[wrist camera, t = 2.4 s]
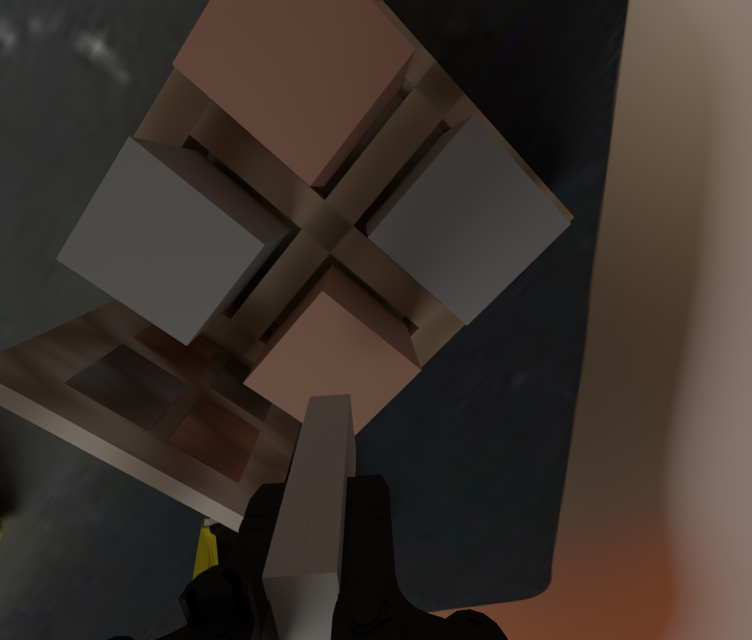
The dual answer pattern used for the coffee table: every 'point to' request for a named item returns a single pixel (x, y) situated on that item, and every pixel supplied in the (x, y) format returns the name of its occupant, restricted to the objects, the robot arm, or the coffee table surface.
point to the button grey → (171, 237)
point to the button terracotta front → (298, 74)
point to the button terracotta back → (336, 352)
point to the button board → (239, 305)
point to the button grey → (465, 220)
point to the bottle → (0, 528)
